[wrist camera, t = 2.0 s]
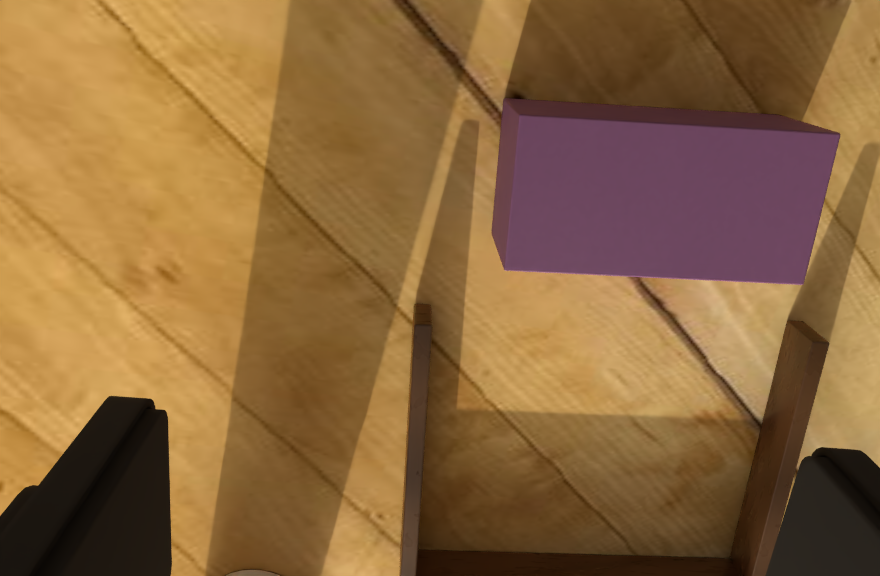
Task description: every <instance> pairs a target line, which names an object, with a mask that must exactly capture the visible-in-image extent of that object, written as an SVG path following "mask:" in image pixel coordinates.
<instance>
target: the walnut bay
mask: <svg viewBox="0 0 880 576" xmlns="http://www.w3.org/2000/svg"><path fill="white" fill-rule="evenodd" d="M431 340H432V313H431V305H427V304H415V305H414V312H413V330H412V348H411V367H410V385H409V403H408V421H407V440H406V458H405V476H404V494H403V513H402V531H401V550H400V576H765V575H766V572H767V569H768V566H769V563H770V559H771V556H772V553H773V550H774V547H775V543H776V540H777V537H778V533H779V530H780V526H781V522H782V518H783V515H784V511H785V507H786V504H787V500H788V496H789V492H790V489H791V485H792V481H793V477H794V474H795V470H796V466H797V462H798V459H799V455H800V451H801V448H802V444H803V440H804V436H805V433H806V429H807V425H808V421H809V418H810V414H811V410H812V406H813V403H814V399H815V395H816V392H817V388H818V384H819V380H820V377H821V373H822V369H823V365H824V362H825V358H826V354H827V351H828V347H829V342H828V341H827V340H825V339H824V338H823V337H822V336H820V335H819V334H818V333H817V332H815V331H814V330H813V329H812V328H811V327H809V326H808V325H807V324H806V323H804V322H803V321H787V324H786V328H785V332H784V336H783V341H782V345H781V349H780V353H779V357H778V361H777V365H776V369H775V373H774V378H773V382H772V386H771V390H770V394H769V398H768V402H767V406H766V410H765V414H764V419H763V423H762V427H761V431H760V435H759V439H758V443H757V447H756V451H755V455H754V460H753V464H752V468H751V472H750V476H749V480H748V484H747V488H746V492H745V497H744V501H743V505H742V509H741V513H740V517H739V521H738V525H737V529H736V533H735V538H734V542H733V546H732V550H731V554H730V558H697V557H660V556H623V555H585V554H548V553H511V552H474V551H437V550H418V541H419V526H420V510H421V495H422V479H423V464H424V448H425V433H426V418H427V402H428V387H429V371H430V356H431Z"/></svg>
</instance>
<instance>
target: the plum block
mask: <svg viewBox="0 0 880 576" xmlns="http://www.w3.org/2000/svg"><path fill="white" fill-rule="evenodd" d="M839 139H840V133H837V132H834V131H831V130H828V129H824V128H821V127H818V126H814V125H811V124H808V123H804V122H801V121H798V120H794V119H791V118H788V117H784V116H781V115H774V114H757V113H741V112H724V111H708V110H691V109H675V108H659V107H642V106H626V105H609V104H593V103H576V102H560V101H543V100H527V99H510V98H505V99H504V100H503V111H502V122H501V133H500V144H499V155H498V166H497V178H496V189H495V200H494V211H493V222H492V236H493V239H494V242H495V245H496V248H497V250H498V253H499V256H500V259H501V262H502V265H503V267H504V270H506V271H526V272H546V273H567V274H588V275H609V276H630V277H651V278H672V279H693V280H713V281H734V282H755V283H776V284H797V285H803V284H804V280H805V276H806V272H807V268H808V264H809V260H810V256H811V252H812V248H813V244H814V240H815V236H816V232H817V228H818V224H819V220H820V216H821V211H822V207H823V203H824V199H825V195H826V191H827V187H828V183H829V179H830V175H831V171H832V167H833V163H834V159H835V155H836V151H837V147H838V143H839Z"/></svg>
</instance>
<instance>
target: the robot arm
mask: <svg viewBox="0 0 880 576" xmlns="http://www.w3.org/2000/svg"><path fill="white" fill-rule="evenodd" d="M171 567H172V556H171V518H170V480H169V442H168V416H167V413H166V411H165V410H156V409H155V405H154V402H153V400H152V399H146V398H132V397H118V396H109V397H108V398H107V399H106V400H105V401H104V402H103V404H102V405H101V406H100V408H99V409H98V410H97V411H96V413H95V414H94V415H93V417H92V418H91V419H90V420H89V422H88V423H87V424H86V426H85V427H84V428H83V429H82V431H81V432H80V433H79V434H78V436H77V437H76V438H75V440H74V441H73V442H72V443H71V445H70V446H69V447H68V449H67V450H66V451H65V452H64V454H63V455H62V456H61V457H60V459H59V460H58V461H57V463H56V464H55V465H54V466H53V468H52V469H51V470H50V472H49V473H48V474H47V475H46V477H45V478H44V479H43V481H42V482H41V483H40V484H39V486H35V485H32V486H29V487H26V488H24V489H23V490H22V491H21V492H20V493H19V494H18V495H17V496H16V497H15V499H14V500H13V501H12V502H11V504H10V505H9V506H8V507H7V509H6V510H5V511H4V512H3V514H2V515H1V516H0V576H170V575H171ZM765 576H880V468H879V467H878V466H877V465H876V464H875V463H874V462H873V461H872V460H871V459H870V458H869V457H868V456H867V455H866V454H865V453H863V452H862V451H860V450H851V449H837V448H824V447H821V448H818V449H816V450H815V451H814V452H813V454H812V456H807V457H805V458H804V459H803V460H802V462H801V464H800V467H799V470H798V473H797V476H796V479H795V483H794V486H793V489H792V492H791V495H790V499H789V502H788V505H787V508H786V511H785V515H784V518H783V521H782V524H781V527H780V531H779V534H778V537H777V540H776V543H775V547H774V550H773V553H772V556H771V559H770V563H769V566H768V569H767V572H766V575H765Z"/></svg>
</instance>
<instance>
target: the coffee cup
mask: <svg viewBox="0 0 880 576" xmlns="http://www.w3.org/2000/svg"><path fill="white" fill-rule="evenodd" d="M225 576H280V575H277V574H275V573H272V572H267V571H263V570H242V571H237V572H233V573H230V574H228V575H225Z"/></svg>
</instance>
